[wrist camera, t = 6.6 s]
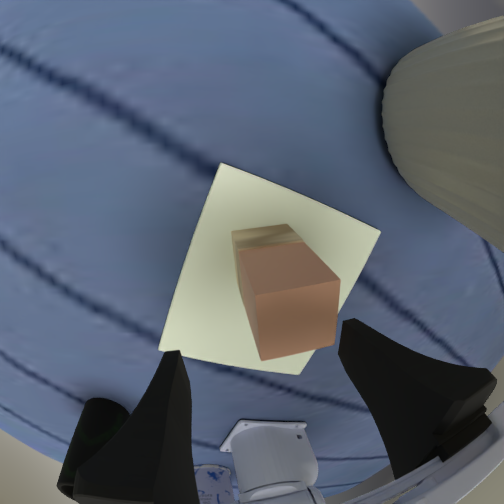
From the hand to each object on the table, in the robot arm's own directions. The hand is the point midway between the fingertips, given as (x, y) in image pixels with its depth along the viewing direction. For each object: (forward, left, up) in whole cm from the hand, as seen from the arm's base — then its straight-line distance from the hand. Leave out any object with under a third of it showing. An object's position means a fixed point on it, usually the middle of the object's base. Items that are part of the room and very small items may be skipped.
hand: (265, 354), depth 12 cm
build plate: (-3, +2, -10) cm, 11 cm away
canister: (-11, -17, -11) cm, 23 cm away
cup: (+7, +23, -10) cm, 26 cm away
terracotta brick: (-2, -1, -6) cm, 7 cm away
